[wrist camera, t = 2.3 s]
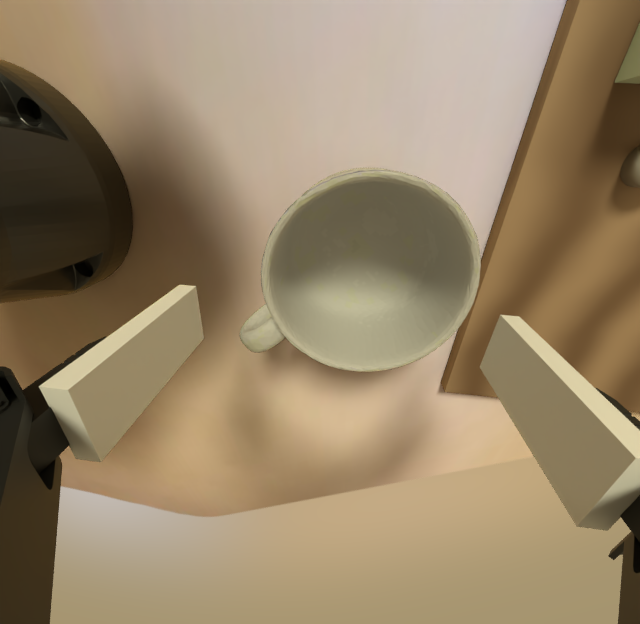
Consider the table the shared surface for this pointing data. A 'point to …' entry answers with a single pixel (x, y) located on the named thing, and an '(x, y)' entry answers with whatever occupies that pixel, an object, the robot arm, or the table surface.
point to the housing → (631, 62)
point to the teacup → (367, 272)
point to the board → (570, 216)
